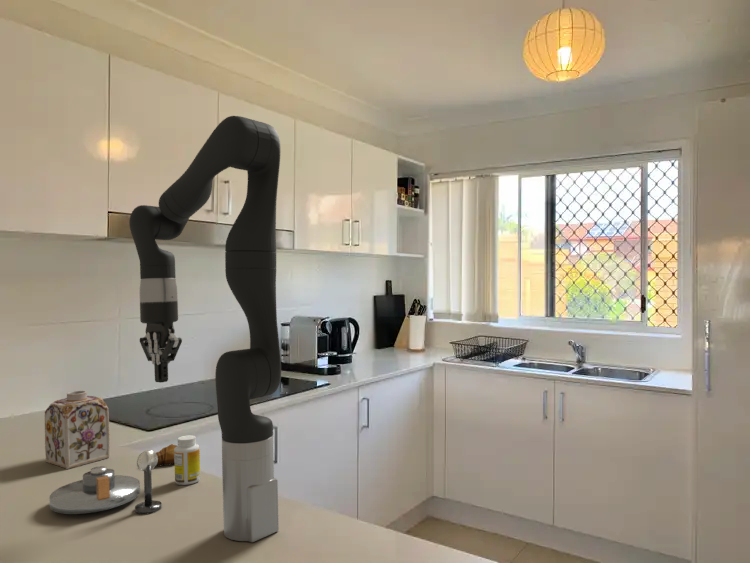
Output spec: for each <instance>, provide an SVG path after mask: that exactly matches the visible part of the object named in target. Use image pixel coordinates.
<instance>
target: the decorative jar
mask: <svg viewBox="0 0 750 563" xmlns="http://www.w3.org/2000/svg"><path fill="white" fill-rule="evenodd" d="M87 394H88V392H87V390H73V391H68V392H67V393H66V397H65V398H61V399H57V400H55V401H53V402H52V403H50V404H49V406H48V407H47V408H46V410H45V411H44V445H45V446H44V450H45V461H46V463H49V464H50V465H51V464H52V465H55V466H57V467H61V468H63V469H66V470H70V469H72V468H77V467H80V466H84V465H87V464H91V463H94V462H95V463H96V462H98V461H99V462H100V461H103V460H105V459H108V458H110V451H111V450H110V447H111V446H110V440H111V439H110V417H109V416H110V413H109V407H108V405H107V402H105V401H104V399H103V397H101V396H95V395H93V396H92V395H87Z"/></svg>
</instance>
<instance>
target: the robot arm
mask: <svg viewBox="0 0 750 563" xmlns="http://www.w3.org/2000/svg"><path fill="white" fill-rule="evenodd" d="M280 164H281V140H280V136H279V133H278V131H277V130H276V129H275V127H274V126H272V125H271V124H268V123H266V122H263V121H259V120H256V119H251V118H247V117H244V116H241V115H231V116H230V115H229V116H227V117H225V118H223V119H222V121H221V122H219V123H218V125H217V126H216V127H215V128H214V130H213V131H212V133H211V134H210V135H209V137H208V138H207V139H206V141H205V142H204V144H203V145H202V146H201V148H200V150H199V151H198V153H197V154H196V156H194V158H193V160H192V162H191V163H190V165H189V166H188V167H187V169H186V170H185V171H184V172H183V173H182V175H180V176H179V178H178V179H176V180H175V181H174V182H173V183H172V184H171V185H170V186H169V187H168V188H167V189H166V190H164V191H163V193H162V194H161V195H160V196H159V199H158V206H157V205H156V206H155V205H147V204H146V205H145V204H144V205H138V206H136V207H135V208H134V209H132V211H131V213H130V216H129V222H128V223H129V229H130V234H131V236H132V239H133V242H134V245H135V249H136V252H137V255H138V259H139V271H140V272H139V275H140V277H139V278H140V280H139V281H140V283H139V314H140V315H139V316H140V317H139V319H140V323H142V324H146V327H145V336H144V337H140V338H139V344H140V346H141V348H142V350H143V353H144V354H145V357H146V359H147V361H148V362H151V363H152V365H153V366H154V381H155V383H166V382H168V381H169V363H170V362H173V361H175V359H176V356H177V354H178V351H179V349H180V346H181V345H182V342H183V338H182V337H177V336H176V335H175V333H176V332H175V327H174V323H175V322H177V321H178V320H179V302H178V300H179V299H178V286H177V278H176V259H175V258H176V257H175V255H174V254H173V252H171V251H169V250H165V249H162V248H161V247H159V245H158V244H157V241H158V240H160V241H161V240H162V241H171V240H175V239H176V238H178V237H180V235H182V233H183V231H184V229H185V227H186V225H187V223H188V221H189V219H190V218H191V217H193V215H195V214H196V213H197V212H198V211H199V210H201V209H202V208H203V207H204V206H205V205H206V204H207V202H208V200H209V199H210V197H211V195H212V190H213V181H214V178H215V177H216V176H217V175H218V174H220V173H222V172H224V170H227V169H229V168H232V169H236V170H243V171H247V186H246V187H247V188H246V189H247V190H246V197H245V200H244V202H243V203H244V204H243V206H242V208H241V211H239V214H238V215H237V217H236V219H235V220H234V223H233V224H232V226H231V228H230V230H229V232H228V234H227V238H226V241H225V249H224V250H225V253H224V254H225V256H224V258H225V270H224V271H225V278H226V282H227V285H228V287H229V289H230V291H231V293H232V295H233V296H234V298H235V300H236V302H237V303H238V304H239V306H240V308H241V309H242V311H243V314H244V315H245V318H246V321H247V324H248V330H249V338H250V339H249V341H250V342H249V348H245V349H238V350H230V351H225V352H224V353H222V354H221V355H220V356H219V358H218V360H217V362H216V367H215V376H214V377H215V380H214V381H215V393H216V403H217V405H216V407H217V418H218V423H219V426H220V431H221V432H220V433H221V461H222V462H221V464H222V466H221V467H222V468H221V469H222V470H221V471H222V475H221V476H222V507H223V508H222V510H223V511H222V512H223V515H222V516H223V535H224V536H225V537H226V538H227V539H229V540H232V541H237V542H238V541H239V542H249V543H254V542H256V541H260V540H262V539H263V538H265V537H268V536H270V535H272V534H274V533H276V532H279V529H280V528H279V527H280V526H279V494H278V493H279V490H278V489H279V487H278V486H279V485H278V484H279V483H278V482H279V481H278V479H277V478H276V477H275V467H274V464H275V463H274V462H275V461H274V459H275V457H274V425H273V421H272V420H271V418H270V417H267V416H264V415H258V414H255V413H253V412H252V408H251V402H250V400H254V399H259V398H263V397H268V396H271V395H273V394H275V393H276V391H277V390H278V389H279V387H280V383H281V379H282V360H281V351H280V350H281V348H280V347H281V346H280V340H279V338H280V337H279V330H278V328H279V326H278V318H277V317H278V316H277V313H278V312H277V238H276V237H277V236H276V235H277V234H276V232H277V231H276V230H277V199H278V198H277V196H278V186H279V176H280V175H279V174H280ZM156 240H157V241H156Z"/></svg>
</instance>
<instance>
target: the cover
mask: <svg viewBox="0 0 750 563" xmlns="http://www.w3.org/2000/svg"><path fill="white" fill-rule="evenodd" d="M114 475H115V470H114V469H113V468H107V466H104V465H101V466H95V467H93V468H90V471H87V472H85V473H83V474H82V480H83V492H84V493H87V494H96V493H97V492H96V478H98V477H103V476H108V477H109V490H111V489H113V488H114V487H115V476H114Z"/></svg>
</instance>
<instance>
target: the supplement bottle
mask: <svg viewBox="0 0 750 563" xmlns="http://www.w3.org/2000/svg"><path fill="white" fill-rule="evenodd" d="M200 454H201V453H200V445H199V444H198V443H197V440H196V436H195V435H189V434H187V435H183V436H179V437H178V438H177V446H176V447H175V449H174V462H175V464H174V482H175V484H177V485H180V486H188V485H193V484H196V483H197V482H199V481H200V479H201V463H200V462H201V460H200V459H201V458H200V457H201V455H200Z"/></svg>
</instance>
